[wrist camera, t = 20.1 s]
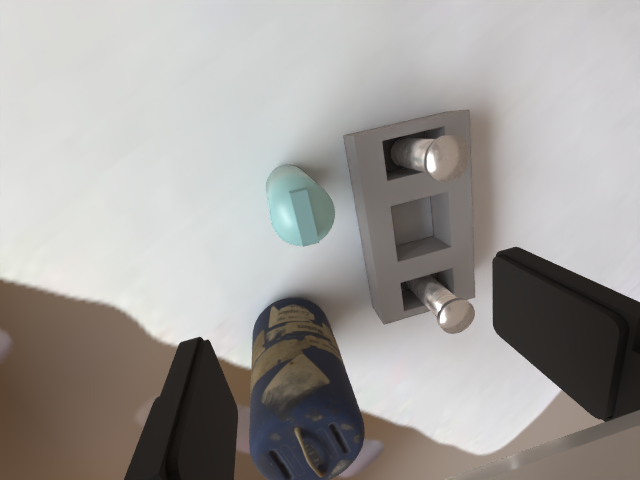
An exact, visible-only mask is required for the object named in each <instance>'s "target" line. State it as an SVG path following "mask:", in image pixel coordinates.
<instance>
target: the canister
mask: <svg viewBox="0 0 640 480" xmlns="http://www.w3.org/2000/svg"><path fill="white" fill-rule="evenodd" d="M363 441H364V423H363V418H362V415H361V412H360V409H359V407H358V404H357V401H356V398H355V395H354V392H353V389H352V386H351V384H350V381H349V378H348V375H347V373H346V369H345V366H344V363H343V360H342V357H341V354H340V351H339V348H338V345H337V343H336V340H335V337H334V335H333V333H332V330H331V327H330V324H329V322H328V319H327V317H326V315H325V313H324V312H323V311H322V310H321V309H320V308H319V307H318V306H317V305H316V304H314V303H312V302H310V301H308V300H304V299H300V298H288V299H283V300H280V301H277V302H275V303H273V304H271V305H270V306H268V307H267V308H266V309H265V310H264V311H263V312H262V313H261V314H260V315H259V317H258V319H257V320H256V323H255V325H254V329H253V343H252V374H251V398H250V429H249V445H250V455H251V458H252V461H253V463H254V465H255V467H256V468H257V470H258V471H259V472H260V473H261V474H262V475H263V476H264V477H265V478H266V479H268V480H330V479H332V478H334V477H336V476H337V475H339V474H340V473H342V472H343V471H344V470H346V469H347V468H348V467H349V466H350V465H351V464H352V463H353V461H354V460H355V459H356V457H357V456H358V454H359V452H360V450H361V448H362V445H363Z"/></svg>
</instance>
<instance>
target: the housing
mask: <svg viewBox="0 0 640 480" xmlns="http://www.w3.org/2000/svg"><path fill="white" fill-rule="evenodd" d="M422 131H425V134H426V139H437V138H438V137H441V136H444V135H455V136H459V137H461V138H462V139H463V140H464V141H465V142H466V143H467V145H468V147H469V152H470V158H469V163H468V166H467V168H466V170H465V171H464V172H463V174H462V175H461V176H460V177H458V178H457V179H455V180H453V181H451V182H440V181H437V180H434V179H432V178H431V177H430V176H429V175H428V174H427V173H425V172H421V171H417V170H413V169H410V168H403V169H399V170H395V171H391V172H387V173H386V168H385V160H384V152H383V145H382V141H384V140H388V139H393V138H397V137H401V136H405V135H409V134H414V133H418V132H422ZM343 137H344V143H345V148H346V154H347V160H348V166H349V172H350V177H351V183H352V189H353V195H354V201H355V207H356V212H357V218H358V224H359V230H360V236H361V242H362V247H363V253H364V259H365V265H366V271H367V276H368V282H369V288H370V294H371V300H372V306H373V308H374V310H375V311H376V313H377V315H378V316H379V318H380V319H381V321H382V322H383V324H388V323H391V322H394V321H398V320H401V319H404V318H408V317H411V316H414V315H418V314H421V313H425V312H428V311H430V310H429V309H428V307H427V306H426V305H425V304H424V303H423V302H422V301H421V300H420V299H419V298H418V297H417V296H416V295H415V294H414V293H413V292H412V291H411V290H407V291H404V292H402V291H401V284H400V283H402V282H405V281H409V280H412V279H416V278H419V277H422V276H426V275H429V274H433V273H436V272H437V281H438V282H439V283H440V284H442V285H443V286H444V287H445V288H446V289H448V290H449V291H450V292H451V293H452V294H453V295H455V296H456V297H457V298H462V299H465V300H468V299H471V298H475V280H474V248H473V215H472V182H471V149H470V116H469V110H460V111H449V112H443V113H439V114H435V115H431V116H426V117H422V118H418V119H413V120H409V121H405V122H400V123H396V124H392V125H387V126H383V127H379V128H375V129H370V130H366V131H362V132H357V133H353V134H349V135H344V136H343ZM429 196H431V209H432V221H433V234H434V236H432V237H428V238H425V239H421V240H417V241H414V242H410V243H406V244H403V245H399V246H396V245H395V237H394V230H393V222H392V214H391V206H394V205H398V204H402V203H406V202H410V201H413V200H417V199H421V198H425V197H429Z"/></svg>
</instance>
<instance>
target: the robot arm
mask: <svg viewBox="0 0 640 480" xmlns="http://www.w3.org/2000/svg"><path fill="white" fill-rule="evenodd" d="M492 267H493V327H494V329H495V331H496V333H497V334H498V335H499V336H500V337H501V338H502V339H503V340H505V341H506V342H507V343H508V344H509V345H510V346H512V347H513V348H514V349H515V350H516V351H517V352H519V353H520V354H521V355H522V356H523V357H524V358H526V359H527V360H528V361H529V362H530V363H531V364H533V365H534V366H535V367H536V368H537V369H538V370H540V371H541V372H542V373H543V374H544V375H545V376H547V377H548V378H549V379H550V380H551V381H552V382H554V383H555V384H556V385H557V386H558V387H559V388H561V389H562V390H563V391H564V392H565V393H567V394H568V395H569V396H570V397H571V398H572V399H574V400H575V401H576V402H577V403H578V404H579V405H580V406H582V407H583V408H584V409H585V410H586V411H587V412H589V413H590V414H591V415H592V416H594V417H595V418H598V419H602V420H604V421H605V422H604V423H601V424H599V425H596V426H593V427H590V428H587V429H585V430H582V431H579V432H576V433H573V434H570V435H567V436H564V437H562V438H559V439H556V440H553V441H550V442H547V443H544V444H542V445H539V446H536V447H533V448H530V449H528V450H525V451H522V452H519V453H517V454H514V455H511V456H508V457H505V458H502V459H500V460H497V461H494V462H491V463H488V464H486V465H483V466H480V467H477V468H474V469H472V470H469V471H466V472H464V473H461V474H458V475H455V476H452V477H449V478H447V479H444V480H640V302H638V301H636V300H634V299H631V298H629V297H627V296H625V295H623V294H620V293H618V292H616V291H614V290H612V289H609V288H607V287H605V286H603V285H601V284H598V283H596V282H594V281H592V280H590V279H587V278H585V277H583V276H581V275H579V274H576V273H574V272H572V271H570V270H568V269H565V268H563V267H561V266H559V265H557V264H554V263H552V262H550V261H548V260H545V259H543V258H541V257H539V256H537V255H534V254H532V253H530V252H528V251H526V250H523V249H521V248H519V247H513V248H509V249H506V250H502V251H499V252H498V253H497V254H496V257H495V258H494V259H493V262H492ZM237 424H238V410H237V405H236V403H235V400H234V398H233V396H232V393H231V391H230V388H229V386H228V383H227V381H226V379H225V376H224V374H223V371H222V369H221V367H220V364H219V362H218V359H217V357H216V354H215V352H214V350H213V347H212V345H211V343H210V341H209V340H205V341H204V340H203V339H202V338H201V337H197V338H194V339H190V340H187V341H183V342H181V343H180V344H179V346H178V349H177V351H176V354H175V357H174V360H173V362H172V365H171V368H170V370H169V374H168V376H167V379H166V382H165V384H164V387H163V390H162V392H161V395H160V396H159V397H157V398H156V399H155V401H154V403H153V405H152V408H151V410H150V413H149V416H148V418H147V421H146V423H145V426H144V429H143V431H142V434H141V437H140V439H139V442H138V444H137V447H136V450H135V452H134V455H133V458H132V460H131V463H130V465H129V468H128V470H127V473H126V476H125V478H124V480H234V467H235V453H236V438H237Z"/></svg>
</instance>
